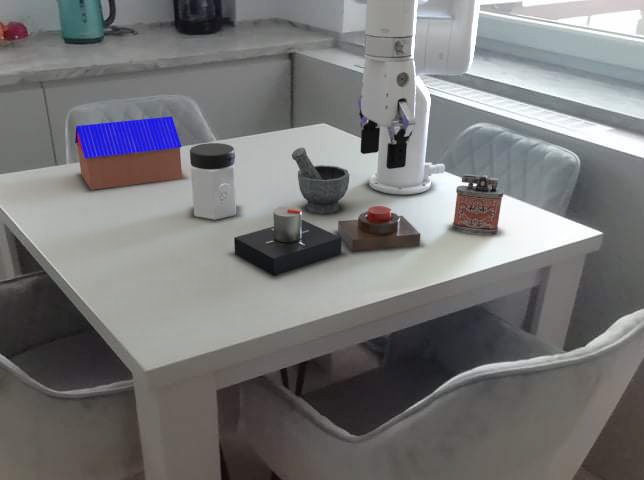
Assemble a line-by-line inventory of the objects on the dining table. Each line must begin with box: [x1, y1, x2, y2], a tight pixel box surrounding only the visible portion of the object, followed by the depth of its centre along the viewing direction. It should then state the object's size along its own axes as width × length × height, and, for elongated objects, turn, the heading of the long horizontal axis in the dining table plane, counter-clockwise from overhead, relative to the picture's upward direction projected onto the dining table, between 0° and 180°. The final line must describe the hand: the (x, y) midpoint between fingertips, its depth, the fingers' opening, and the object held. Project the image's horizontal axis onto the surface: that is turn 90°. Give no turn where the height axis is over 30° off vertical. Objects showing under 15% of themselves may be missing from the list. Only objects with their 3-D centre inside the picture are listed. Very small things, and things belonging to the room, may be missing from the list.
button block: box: [337, 210, 421, 253], centre depth 130 cm, size 12×9×4 cm
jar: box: [189, 142, 237, 221], centre depth 140 cm, size 9×8×12 cm
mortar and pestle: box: [291, 147, 350, 215], centre depth 141 cm, size 11×9×12 cm
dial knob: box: [273, 205, 303, 242], centre depth 123 cm, size 5×5×5 cm
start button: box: [367, 205, 392, 222], centre depth 129 cm, size 4×4×2 cm
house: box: [74, 116, 183, 191], centre depth 159 cm, size 12×20×12 cm, turn 113°
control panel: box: [233, 219, 343, 277], centre depth 125 cm, size 14×11×3 cm
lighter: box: [451, 173, 505, 236], centre depth 132 cm, size 8×3×10 cm, turn 71°
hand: (382, 159), depth 124 cm, fingers open, 8 cm apart
